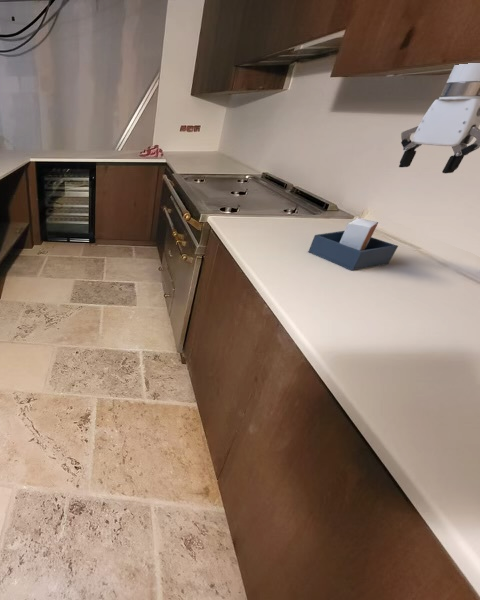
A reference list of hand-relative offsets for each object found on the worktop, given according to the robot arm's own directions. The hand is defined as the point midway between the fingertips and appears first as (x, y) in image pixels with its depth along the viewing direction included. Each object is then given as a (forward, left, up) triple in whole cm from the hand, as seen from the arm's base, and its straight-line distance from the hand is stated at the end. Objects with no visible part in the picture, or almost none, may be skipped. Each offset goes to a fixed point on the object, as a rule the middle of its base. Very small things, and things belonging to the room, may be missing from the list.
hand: (424, 169), depth 84 cm
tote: (+6, -5, -26) cm, 27 cm away
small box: (+5, -5, -26) cm, 27 cm away
